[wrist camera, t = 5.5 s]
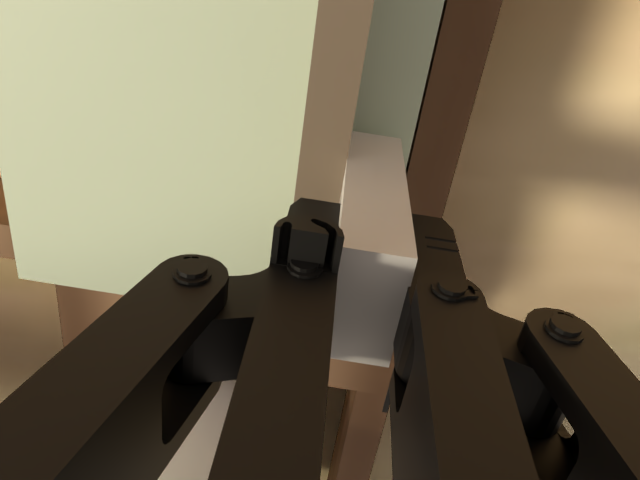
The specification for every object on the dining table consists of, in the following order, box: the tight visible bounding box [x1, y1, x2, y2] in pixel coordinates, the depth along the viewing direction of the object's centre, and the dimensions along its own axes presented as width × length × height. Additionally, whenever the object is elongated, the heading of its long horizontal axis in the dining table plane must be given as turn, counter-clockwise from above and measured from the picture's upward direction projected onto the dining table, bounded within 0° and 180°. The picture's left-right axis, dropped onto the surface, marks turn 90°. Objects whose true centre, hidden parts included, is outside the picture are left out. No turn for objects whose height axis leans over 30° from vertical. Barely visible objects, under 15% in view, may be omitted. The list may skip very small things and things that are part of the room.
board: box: [0, 0, 502, 480], centre depth 24 cm, size 27×32×4 cm
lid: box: [0, 0, 445, 295], centre depth 16 cm, size 13×13×4 cm
